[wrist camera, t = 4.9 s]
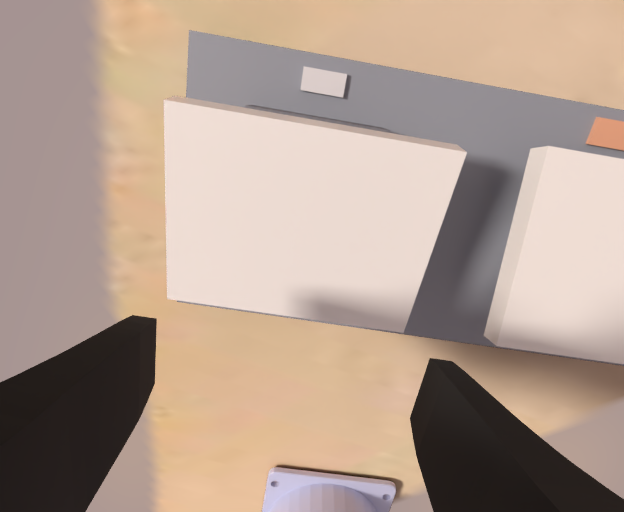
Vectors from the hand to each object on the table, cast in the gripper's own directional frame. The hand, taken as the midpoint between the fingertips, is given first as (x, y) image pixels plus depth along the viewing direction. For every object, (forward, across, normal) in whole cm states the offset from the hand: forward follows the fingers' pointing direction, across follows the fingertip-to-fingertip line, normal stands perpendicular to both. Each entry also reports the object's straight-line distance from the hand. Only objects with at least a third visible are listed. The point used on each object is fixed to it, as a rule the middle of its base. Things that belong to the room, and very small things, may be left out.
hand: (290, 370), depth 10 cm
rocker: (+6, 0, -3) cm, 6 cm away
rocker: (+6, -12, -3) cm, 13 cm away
